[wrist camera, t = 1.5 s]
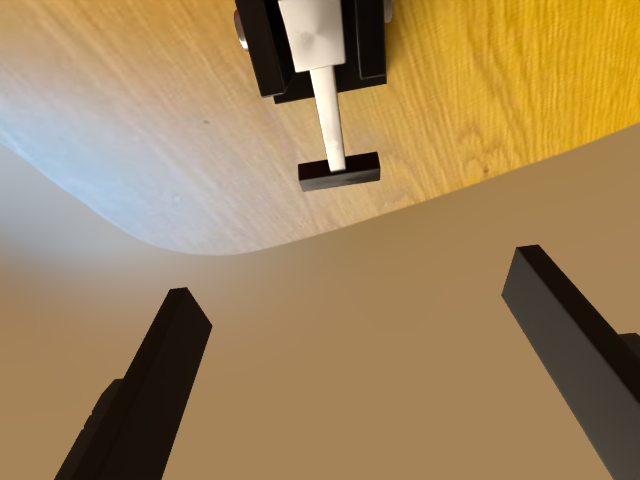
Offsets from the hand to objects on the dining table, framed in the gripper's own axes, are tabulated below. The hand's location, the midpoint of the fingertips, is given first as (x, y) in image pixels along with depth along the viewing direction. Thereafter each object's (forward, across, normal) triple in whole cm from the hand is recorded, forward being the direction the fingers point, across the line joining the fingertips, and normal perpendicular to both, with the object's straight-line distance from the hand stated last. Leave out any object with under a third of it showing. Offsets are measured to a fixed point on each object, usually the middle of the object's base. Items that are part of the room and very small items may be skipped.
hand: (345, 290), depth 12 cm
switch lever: (+9, 0, +5) cm, 11 cm away
